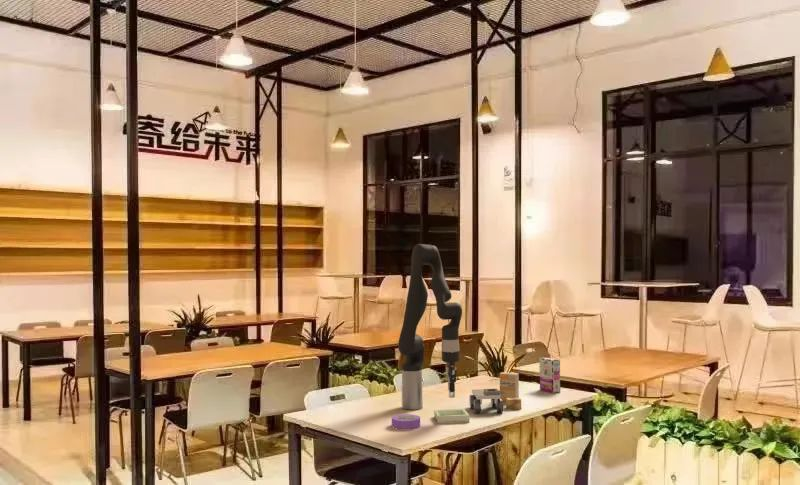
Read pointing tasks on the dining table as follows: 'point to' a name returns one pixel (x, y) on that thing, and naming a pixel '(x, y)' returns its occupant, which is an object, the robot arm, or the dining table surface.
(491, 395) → the trolley
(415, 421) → the masking tape
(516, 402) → the block
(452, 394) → the pin
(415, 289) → the robot arm
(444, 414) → the tray
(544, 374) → the candy bar box
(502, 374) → the supplement box
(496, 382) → the dining table surface
